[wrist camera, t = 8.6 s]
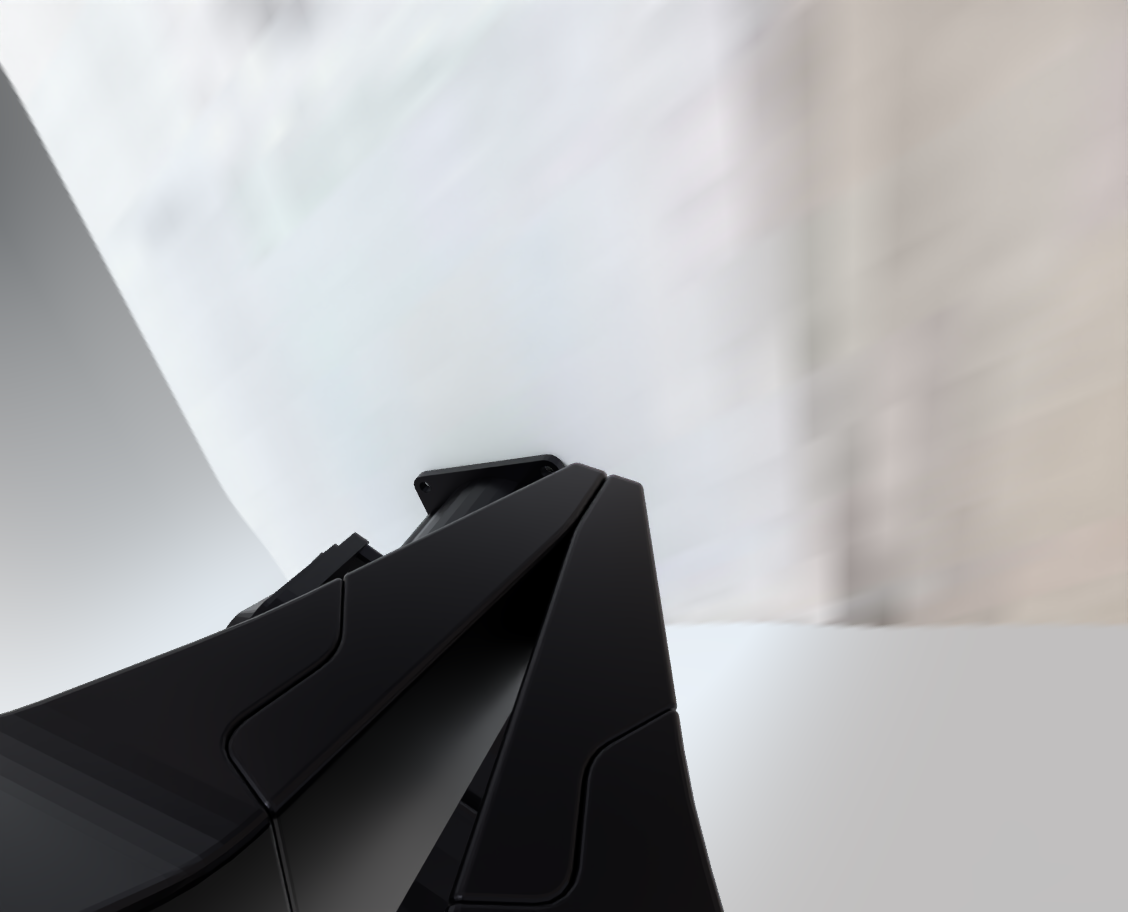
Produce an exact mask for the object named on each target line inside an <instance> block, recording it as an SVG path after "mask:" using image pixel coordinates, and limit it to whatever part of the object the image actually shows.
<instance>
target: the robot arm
mask: <svg viewBox="0 0 1128 912" xmlns="http://www.w3.org/2000/svg"><path fill="white" fill-rule="evenodd" d="M545 466H548V467H550V468H552V470H553V472H549V471H548V470H546V468H545ZM425 482H426V483H427V484H429V486H430V487H429V486H427V485H426V483H425ZM414 486H415V489H416V491H417V493H418V495H419V497H420V499H421V501H422V503H423V505H424V507H425V509H426V511H427V513H428V516H427V517H426V518H425V519H424V520H423V522H422V523H421V524H420V525H419V526H418V527H417V529H416V530H415V531H414V532H413V533H412V535H411V536H410V537H409V538H408V539H407V540H406V542H405V543H404V544H403V545H402V546H401V547H400V548H399V549H397V550H395V551H393V552H390V553H388V554H386V555H384V556H383V555H382V554H380V553H379V552H378V551H376V550H375V549H373V548H372V547H371V546H369V545H368V544H369V541H367V540H366V539H364V538H363V537H361V536H360V535H359V534H357V533H356V532H355V533H353V534H352V535H351V536H350V537H349V538H347V539H346V540H345V541H344V542H343V543H341V544H340V545H339V546H338V545H337V544H334V545H333V546H332V547H330V548H329V549H328V550H327V551H325V552H324V553H320V554H319V555H318V556H317V557H316V558H315V560H314V561H313V562H312V563H311V564H310V565H308V566H307V567H306V568H305V569H303V570H302V571H301V572H300V573H298V574H297V575H296V576H295V577H294V578H292V579H291V580H290V581H289V582H287V583H286V584H285V585H284V586H283V587H281V588H280V589H279V590H278V591H276V592H275V593H274V594H272V595H270V596H269V597H267V598H265V599H263V600H261V601H260V602H258V603H256V604H254V605H252V606H251V607H249V608H247V609H245V610H244V611H242V612H240V613H239V614H238V615H237V616H235V618H234V619H233V620H232V621H231V622H230V624H229V625H228V626H227V628H226V629H224V630H222V631H219V632H217V633H214V634H212V635H209V636H207V637H204V638H202V639H199V640H197V641H195V642H192V643H190V644H187V645H184V646H182V647H179V648H176V649H174V650H171V651H169V652H166V653H163V654H161V655H158V656H156V657H153V658H150V659H148V660H146V661H143V662H140V663H137V664H135V665H132V666H130V667H127V668H124V669H122V670H119V671H117V672H114V673H111V674H109V675H106V676H104V677H101V678H98V679H96V680H93V681H91V682H88V683H85V684H83V685H80V686H78V687H75V688H72V689H70V690H67V691H64V692H62V693H59V694H57V695H54V696H51V697H49V698H46V699H44V700H41V701H39V702H36V703H33V704H30V705H27V706H24V707H21V708H18V709H15V710H13V711H10V712H6V713H2V714H0V912H724V910H723V907H722V903H721V900H720V896H719V893H718V889H717V886H716V883H715V879H714V876H713V872H712V869H711V865H710V861H709V857H708V853H707V849H706V846H705V842H704V838H703V834H702V830H701V826H700V823H699V818H698V815H697V811H696V807H695V803H694V798H693V792H692V787H691V782H690V777H689V772H688V766H687V761H686V756H685V751H684V745H683V738H682V732H681V726H680V719H679V715H678V713H677V712H676V708H677V703H676V696H675V690H674V684H673V677H672V670H671V664H670V658H669V651H668V645H667V638H666V632H665V625H664V619H663V612H662V606H661V599H660V593H659V586H658V580H657V573H656V567H655V561H654V554H653V548H652V541H651V535H650V528H649V522H648V515H647V509H646V503H645V496H644V490H643V487H642V485H641V484H640V483H638V482H635V481H632V480H629V479H626V478H623V477H620V476H617V475H609V476H608V477H607V474H606V473H605V472H604V471H602V470H599V469H596V468H593V467H590V466H587V465H584V464H581V463H573V464H570V465H568V466H566V467H564V465H563V463H562V462H561V460H560V459H558V458H557V457H556V456H553V455H547V454H546V455H539V456H532V457H525V458H517V459H510V460H503V461H496V462H489V463H482V464H474V465H467V466H460V467H453V468H446V469H439V470H431V471H425V472H422V473H421V474H420V475H419V476H418V477H417V478H416V479H415V481H414Z"/></svg>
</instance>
